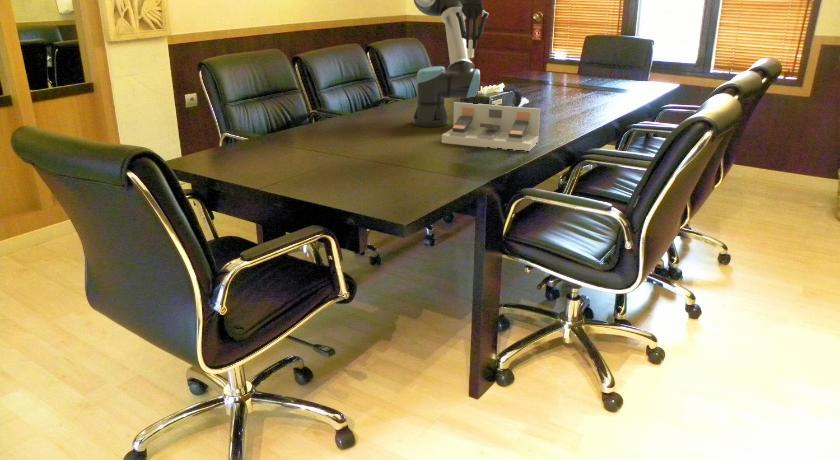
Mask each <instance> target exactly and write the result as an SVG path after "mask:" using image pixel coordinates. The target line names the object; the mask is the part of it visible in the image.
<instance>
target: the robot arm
mask: <svg viewBox="0 0 840 460" xmlns="http://www.w3.org/2000/svg"><path fill="white" fill-rule="evenodd" d="M483 2H484V1H483V0H413V3H414V5H415V8H417V10H418V11H419V12H421V13H422V14H424V15H426V16H428V17H429V16H430V17H440V20H441V22H443V24H444V27H445V32H446V33H445V34H446V42H447V49H448V57H449V65H448V67H447V69H446V68H445V66H444V65H443V66H442V65H439V66H436V65H435V66H428V67H425V68H421V69H419V70H418V71H417V73H416V74H417V75H416V106H415V110H414V113H413V117H412V124H413V125H415V126H417V127H418V126H419V127H428V128H437V127H443V126H447V125H448V124H449V116H448V114H447V110H446V106H445V99H470V97H475V96H476V95H477V94H478V90H480V84H481V71H480V69H478V68H476V67H475V64H474V62H472V61H471V59H473V58H474V57H475V50H476V49H477V47H478V46H477V45H478V40H479V39H481V38H482V37H483V33H484V31H485V30H484V29H485V27H486V26H485V25H486V22H487V18H489V16H490V13H489V12H486V11H485V9H484V5H483ZM480 16H481V20H480V24H479V18H480ZM465 21H466V22H465ZM478 24H479V26H478Z"/></svg>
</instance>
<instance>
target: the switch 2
mask: <svg viewBox="0 0 840 460" xmlns="http://www.w3.org/2000/svg"><path fill="white" fill-rule="evenodd" d="M480 127H485V128H494V129H500V126H498V125H494V124H487V123H480Z"/></svg>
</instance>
